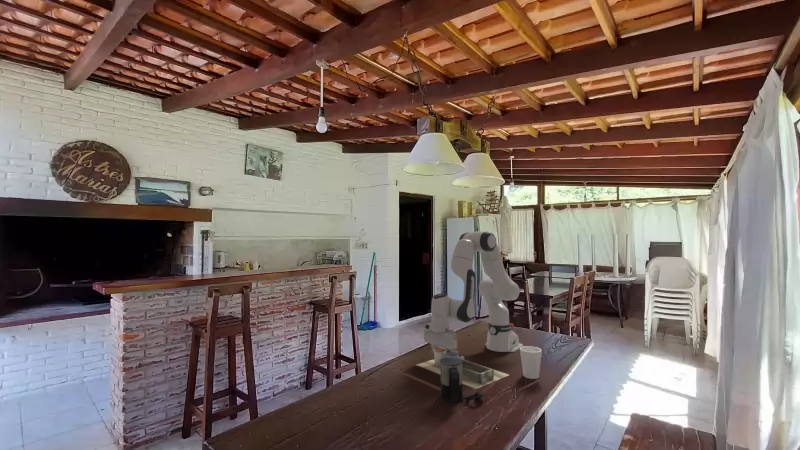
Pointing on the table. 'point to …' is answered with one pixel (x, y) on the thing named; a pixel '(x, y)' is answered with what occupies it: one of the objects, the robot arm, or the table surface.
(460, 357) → the pusher
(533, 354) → the foam cup
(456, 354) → the jar
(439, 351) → the jar
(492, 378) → the cream rippled cloth
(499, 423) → the table surface
